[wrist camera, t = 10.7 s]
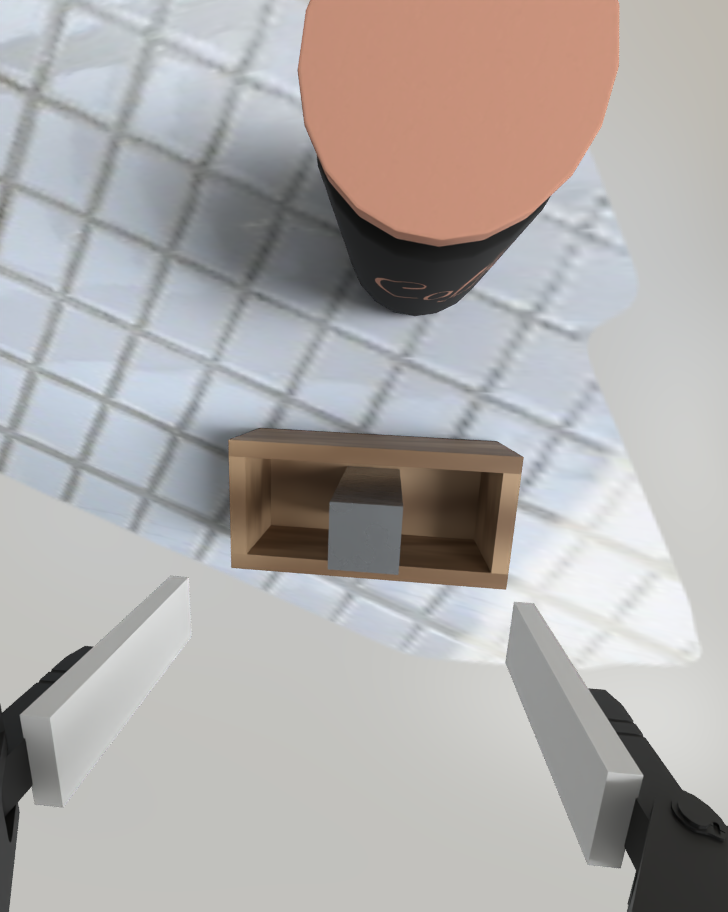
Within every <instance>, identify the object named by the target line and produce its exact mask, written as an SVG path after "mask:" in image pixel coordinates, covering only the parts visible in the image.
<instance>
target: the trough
mask: <svg viewBox="0 0 728 912" xmlns="http://www.w3.org/2000/svg"><path fill="white" fill-rule="evenodd" d="M228 443H229V487H230V530H231V568H241V569H253V570H266V571H278V572H291V573H304V574H316V575H329V576H342V577H354V578H367V579H380V580H392V581H405V582H417V583H430V584H443V585H455V586H468V587H481V588H493V589H506V587H507V579H508V571H509V564H510V556H511V549H512V541H513V533H514V526H515V518H516V511H517V503H518V496H519V488H520V480H521V473H522V465H523V458H524V457H522V456H521V455H519V454H517V453H516V452H514V451H512V450H511V449H509V448H507V447H506V446H504V445H502V444H501V443H499V442H497V441H481V440H464V439H446V438H429V437H411V436H393V435H376V434H358V433H340V432H323V431H305V430H287V429H270V428H259V429H256V430H253V431H251V432H248V433H245V434H243V435H240V436H237V437H235V438H232V439H229V440H228ZM347 466H358V467H374V468H390V469H400V477H401V488H402V499H403V517H402V531H401V545H400V560H399V574H398V575H393V574H380V573H368V572H355V571H342V570H329V569H328V539H329V506H330V500H331V498H332V496H333V494H334V492H335V490H336V488H337V486H338V484H339V482H340V480H341V478H342V476H343V474H344V472H345V470H346V468H347Z"/></svg>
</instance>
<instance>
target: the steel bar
mask: <svg viewBox="0 0 728 912" xmlns="http://www.w3.org/2000/svg"><path fill="white" fill-rule="evenodd" d="M402 517H403V499H402V488H401V477H400V469H390V468H374V467H358V466H347V468H346V470H345V472H344V474H343V476H342V478H341V480H340V482H339V484H338V486H337V488H336V490H335V492H334V494H333V496H332V498H331V500H330V506H329V539H328V569H329V570H342V571H355V572H368V573H380V574H393V575H398V574H399V560H400V545H401V531H402Z"/></svg>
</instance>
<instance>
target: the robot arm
mask: <svg viewBox="0 0 728 912" xmlns="http://www.w3.org/2000/svg"><path fill="white" fill-rule="evenodd" d="M191 637H192V631H191V612H190V594H189V578H188V577H179V576H170V577H169V578H168V579H167V580H166V581H164V582H163V583H162V584H161V585H160V586H159V587H158V588H157V589H156V590H155V591H154V592H153V593H152V594H150V595H149V596H148V597H147V598H146V599H145V600H144V601H143V602H142V603H141V604H139V606H137V607H136V608H135V609H134V610H133V611H132V612H131V613H130V614H129V615H128V616H126V618H124V619H123V620H122V621H121V622H120V623H119V624H118V625H117V626H116V627H115V628H113V629H112V630H111V631H110V632H109V633H108V634H107V635H106V636H105V637H104V638H103V639H102V640H100V641H99V642H98V643H97V644H96V645H95V646H94V647H91V646H84V647H82V648H81V649H79V650H77V651H75V652H74V653H72V654H70V655H68V656H67V657H66V658H64V659H63V660H62V661H61V662H60V663H59V664H57V665H56V666H55V667H54V668H53V669H52V671H51V672H48V673H47V674H46V675H45V676H44V677H42V678H41V679H40V681H39V683H36V684H34V685H33V686H32V687H31V688H30V689H29V690H28V691H27V692H25V693H24V694H23V695H22V696H21V697H20V698H18V699H17V700H16V701H15V702H14V703H13V704H12V705H11V706H9V707H8V708H7V709H6V710H5V711H4V712H2V711H1V706H0V912H9V905H10V896H11V886H12V878H13V868H14V859H15V850H16V840H17V831H18V822H19V813H20V812H19V807H18V801H19V800H20V799H21V798H22V797H23V796H24V794H25V793H26V792H27V791H28V790H29V789H30V788H31V786H32V791H33V797H34V802H35V804H36V805H44V806H54V807H64V806H65V804H66V803H67V802H68V800H69V799H70V798H71V796H72V795H73V794H74V792H75V791H76V790H77V788H78V787H79V786H80V784H81V783H82V782H83V780H84V779H85V778H86V776H87V775H88V774H89V772H90V771H91V770H92V768H93V767H94V766H95V764H96V763H97V761H98V760H99V759H100V757H101V756H102V755H103V754H104V752H105V751H106V750H107V749H108V747H109V746H110V745H111V743H112V742H113V741H114V739H115V738H116V736H117V735H118V734H119V732H120V731H121V730H122V729H123V727H124V726H125V724H126V723H127V722H128V721H129V719H130V718H131V716H132V715H133V714H134V713H135V711H136V710H137V708H138V707H139V706H140V705H141V703H142V702H143V701H144V699H145V698H146V697H147V695H148V694H149V693H150V691H151V690H152V689H153V687H154V686H155V685H156V683H157V682H158V681H159V679H160V678H161V677H162V675H163V674H164V673H165V671H166V670H167V669H168V667H169V666H170V665H171V663H172V662H173V661H174V659H175V658H176V657H177V655H178V654H179V653H180V651H181V650H182V649H183V647H184V646H185V645H186V643H187V642H188V640H189V639H190V638H191ZM505 663H506V665H507V668H508V670H509V673H510V675H511V677H512V680H513V682H514V685H515V687H516V690H517V692H518V695H519V697H520V700H521V702H522V704H523V707H524V710H525V712H526V714H527V717H528V719H529V722H530V724H531V727H532V729H533V731H534V734H535V737H536V739H537V742H538V744H539V746H540V749H541V751H542V754H543V756H544V759H545V761H546V764H547V766H548V768H549V771H550V773H551V776H552V778H553V781H554V783H555V786H556V788H557V791H558V793H559V796H560V798H561V801H562V803H563V805H564V808H565V810H566V813H567V815H568V818H569V820H570V822H571V825H572V827H573V830H574V832H575V835H576V837H577V840H578V842H579V845H580V847H581V850H582V852H583V855H584V857H585V860H586V862H587V864H588V865H594V866H603V867H612V868H621V865H622V861H623V857H624V852H625V849H626V851H627V853H628V855H629V857H630V859H631V861H632V863H633V865H634V867H635V869H636V873H635V877H634V881H633V885H632V889H631V893H630V897H629V901H628V909H627V912H728V826H726V825H725V824H724V822H723V821H722V819H721V818H720V817H719V816H718V815H717V814H716V813H715V812H714V811H713V810H712V809H711V808H710V807H709V806H708V805H707V804H705V803H704V802H703V801H701V800H700V799H698V798H697V797H695V796H694V795H692V794H690V793H687V792H686V791H683V790H682V789H681V787H680V786H679V785H678V783H677V782H676V780H675V779H674V778H673V776H672V775H671V773H670V772H669V771H668V769H667V768H666V766H665V765H664V763H663V762H662V761H661V759H660V758H659V756H658V755H657V754H656V752H655V751H654V749H653V748H652V747H651V745H650V744H649V742H648V741H647V740H646V738H644V737H643V734H642V732H641V731H640V730H639V728H638V727H637V726H636V724H634V723H633V720H632V718H631V717H630V715H629V714H628V713H627V711H626V710H625V708H624V707H623V706H622V705H621V703H620V702H618V701H617V700H616V699H615V698H614V697H613V696H611V695H610V694H609V693H608V692H607V691H606V690H601V689H589V688H587V686H586V685H585V683H584V682H583V680H582V678H581V677H580V675H579V674H578V672H577V670H576V669H575V667H574V666H573V664H572V663H571V661H570V659H569V658H568V656H567V655H566V653H565V652H564V650H563V648H562V647H561V645H560V644H559V642H558V641H557V639H556V637H555V636H554V634H553V633H552V631H551V630H550V628H549V626H548V625H547V623H546V622H545V620H544V619H543V617H542V615H541V614H540V612H539V611H538V609H537V608H536V606H535V604H534V603H521V602H514V606H513V613H512V620H511V627H510V634H509V641H508V648H507V655H506V662H505Z"/></svg>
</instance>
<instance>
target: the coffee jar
mask: <svg viewBox="0 0 728 912" xmlns="http://www.w3.org/2000/svg"><path fill="white" fill-rule="evenodd" d="M618 67H619V3H618V0H310V2H309V4H308V7H307V9H306V14H305V21H304V29H303V36H302V43H301V50H300V57H299V65H298V77H299V85H300V93H301V101H302V109H303V117H304V124H305V128H306V130H307V132H308V135H309V137H310V139H311V142H312V144H313V146H314V149H315V151H316V153H317V161H318V167H319V170H320V173H321V176H322V179H323V182H324V184H325V187H326V190H327V193H328V196H329V199H330V202H331V205H332V208H333V211H334V213H335V216H336V219H337V222H338V225H339V228H340V231H341V234H342V237H343V239H344V242H345V245H346V248H347V251H348V254H349V257H350V260H351V263H352V265H353V267H354V270H355V272H356V274H357V277H358V279H359V281H360V284H361V285H362V286H363V287H364V289H365V290H366V291H367V292H368V293H369V294H370V295H371V297H372V298H373V299H374V300H375V301H376V302H378V303H380V304H381V305H383V306H385V307H386V308H388V309H390V310H392V311H393V312H398V313H403V314H408V315H413V316H418V315H425V314H433V313H437V312H439V311H441V310H444V309H446V308H448V307H450V306H452V305H454V304H456V303H457V302H458V301H459V300H460V299H461V298H463V297H464V296H465V295H466V294H467V293H468V292H469V291H470V290H471V289H472V288H473V287H474V286H475V285H476V284H477V283H478V282H479V280H480V279H481V278H482V277H483V276H484V275H485V274H486V273H487V271H488V270H489V269H490V268H491V267H492V266H493V265H494V264H495V262H496V261H497V260H498V259H499V258H500V257H501V256H502V255H503V253H504V252H505V251H506V250H507V249H508V248H509V247H510V246H511V244H512V243H513V242H514V241H515V240H516V239H517V238H518V236H519V235H520V234H521V233H522V232H523V231H524V230H525V229H526V227H527V226H528V225H529V224H530V223H531V222H532V221H533V220H534V218H535V217H536V216H537V215H538V214H539V213H540V212H541V211H542V209H543V208H544V206H545V205H546V203H547V201H548V200H549V198H550V196H551V195H552V194H553V193H554V192H555V191H556V190H557V189H558V188H559V187H560V186H561V185H562V184H564V183H565V182H566V181H567V180H568V179H569V178H570V177H571V176H572V175H573V173H574V171H575V170H576V168H577V166H578V165H579V163H580V161H581V160H582V158H583V156H584V155H585V153H586V151H587V150H588V148H589V146H590V145H591V143H592V141H593V140H594V138H595V136H596V135H597V133H598V131H599V130H600V128H601V126H602V123H603V119H604V116H605V113H606V109H607V106H608V102H609V99H610V95H611V92H612V88H613V85H614V81H615V77H616V74H617V71H618Z"/></svg>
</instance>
